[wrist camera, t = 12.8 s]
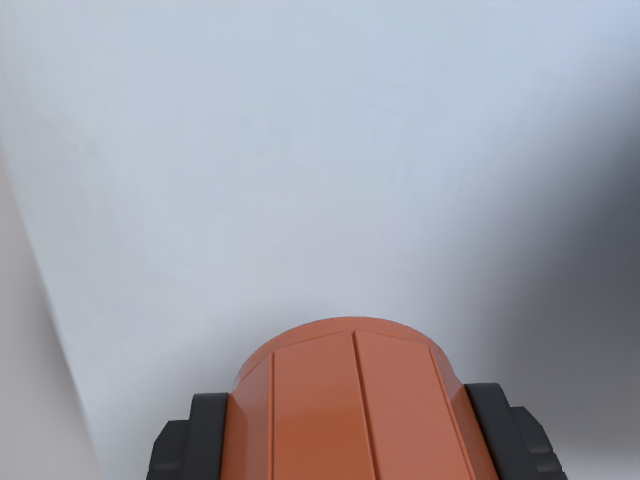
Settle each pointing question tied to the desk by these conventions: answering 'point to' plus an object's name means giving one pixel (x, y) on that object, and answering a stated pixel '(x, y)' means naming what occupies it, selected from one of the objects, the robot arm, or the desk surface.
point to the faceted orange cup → (351, 408)
